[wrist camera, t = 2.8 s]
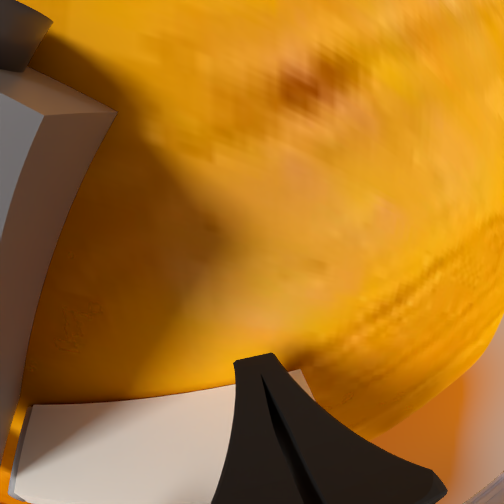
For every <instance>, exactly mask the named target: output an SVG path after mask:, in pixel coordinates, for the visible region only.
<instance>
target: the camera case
mask: <svg viewBox="0 0 504 504" xmlns="http://www.w3.org/2000/svg"><path fill="white" fill-rule="evenodd" d="M52 24H53V21H52V20H50V19H49V18H48V17H46V16H44V15H43V14H41V13H39V12H38V11H36V10H34V9H32V8H30V7H28V6H26V5H24V4H22V3H20V2H18V1H16V0H0V466H1V461H2V457H3V453H4V449H5V445H6V441H7V437H8V434H9V430H10V426H11V423H12V420H13V416H14V413H15V410H16V407H17V404H18V401H19V398H20V392H21V384H22V378H23V371H24V365H25V359H26V354H27V349H28V344H29V339H30V334H31V330H32V325H33V321H34V317H35V313H36V309H37V305H38V301H39V297H40V294H41V290H42V287H43V283H44V280H45V277H46V274H47V270H48V267H49V264H50V261H51V258H52V255H53V252H54V249H55V247H56V244H57V241H58V238H59V235H60V233H61V230H62V228H63V225H64V222H65V220H66V217H67V215H68V212H69V210H70V208H71V205H72V203H73V200H74V198H75V196H76V194H77V191H78V189H79V187H80V185H81V182H82V180H83V178H84V176H85V174H86V172H87V170H88V168H89V165H90V163H91V161H92V159H93V157H94V155H95V153H96V152H97V150H98V148H99V146H100V144H101V142H102V140H103V138H104V136H105V135H106V133H107V131H108V129H109V127H110V125H111V124H112V122H113V120H114V118H115V117H116V115H117V113H118V112H117V111H115V110H113V109H111V108H109V107H108V106H106V105H104V104H102V103H100V102H98V101H96V100H94V99H92V98H90V97H88V96H87V95H85V94H83V93H81V92H79V91H77V90H75V89H73V88H71V87H69V86H67V85H65V84H63V83H61V82H59V81H57V80H55V79H53V78H51V77H49V76H47V75H44V74H42V73H40V72H38V71H36V70H34V69H32V68H30V67H28V66H27V65H28V63H29V61H30V60H31V58H32V56H33V54H34V52H35V51H36V49H37V47H38V46H39V44H40V42H41V41H42V39H43V37H44V36H45V34H46V33H47V31H48V30H49V28H50V27H51V25H52Z"/></svg>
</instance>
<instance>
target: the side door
mask: <svg viewBox="0 0 504 504" xmlns="http://www.w3.org/2000/svg"><path fill="white" fill-rule="evenodd" d="M288 373H289V374H290V375H291V377H292V378H293V379H294V380H295V381H296V382H297V383H298V384H299V386H300V387H301V388H302V389H303V390H304V391H305V392H306V393H307V394H308V395H309V396H310V397H311V398H312V399H313V400H314V401H315V399H314V397H313V395H312V392H311V390H310V388H309V386H308V384H307V382H306V380H305V378H304V376H303V374H302V372H301V369H298V370H294V371H290V372H288ZM235 388H236V384H233V385H228V386H223V387H218V388H213V389H207V390H201V391H195V392H189V393H183V394H176V395H169V396H162V397H154V398H146V399H137V400H127V401H116V402H103V403H87V404H62V405H33V407H28V408H27V411H26V414H25V418H24V421H23V425H22V429H21V433H20V436H19V441H18V445H17V449H16V453H15V458H14V462H13V467H12V472H11V478H10V483H9V489H8V494H9V495H10V496H11V497H13V498H15V499H17V500H20V501H24V502H25V501H27V502H28V503H33V504H211V501H212V499H213V496H214V494H215V491H216V488H217V485H218V482H219V479H220V476H221V472H222V469H223V466H224V462H225V458H226V454H227V450H228V445H229V440H230V435H231V429H232V422H233V416H234V405H235ZM315 402H316V401H315Z"/></svg>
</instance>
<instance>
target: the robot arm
mask: <svg viewBox="0 0 504 504" xmlns="http://www.w3.org/2000/svg"><path fill="white" fill-rule="evenodd" d="M233 364H234V369H235V381H236V388H235V405H234V416H233V422H232V429H231V435H230V440H229V445H228V450H227V454H226V458H225V462H224V466H223V469H222V472H221V476H220V479H219V482H218V485H217V488H216V491H215V494H214V496H213V499H212V501H211V504H435V503H436V502H438V501H439V500H440V499H441V498H443V497H444V496H445V495H446V494H447V489H446V487H445V485H444V484H443V482H442V481H441V480H440V479H439V477H438V476H437V475H436V474H435V473H434V472H433V471H432V470H430V469H428V468H425V467H422V466H419V465H416V464H414V463H411V462H409V461H406V460H404V459H402V458H399V457H397V456H395V455H393V454H391V453H389V452H387V451H385V450H383V449H381V448H379V447H378V446H376V445H374V444H372V443H370V442H369V441H367V440H365V439H364V438H362V437H360V436H359V435H357V434H356V433H354V432H353V431H351V430H350V429H349V428H347V427H346V426H344V425H343V424H342V423H340V422H339V421H338V420H336V419H335V418H334V417H333V416H331V415H330V414H329V413H328V412H327V411H326V410H324V409H323V408H322V407H321V406H320V405H319V404H318V403H317V402H315V401H314V400H313V399H312V398H311V397H310V396H309V395H308V394H307V393H306V392H305V391H304V390H303V389H302V388H301V387H300V386H299V384H298V383H297V382H296V381H295V380H294V379H293V378H292V377H291V375H290V374H289V373H288V372H287V371H286V369H285V368H284V367H283V366H282V364H281V363H280V362H279V360H278V359H277V357H276V356H275V354H273V353H268V354H263V355H259V356H254V357H249V358H245V359H240V360H236V361H235V362H234V363H233ZM463 504H504V471H503V472H502V473H501V474H500V475H499V476H498V477H497V478H495V479H494V480H493V481H492V482H491V483H489V484H488V485H487V486H486V487H484V488H483V489H482V490H480V491H479V492H478V493H477V494H475V495H474V496H473V497H471V498H470V499H469V500H467V501H466V502H464V503H463Z"/></svg>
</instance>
